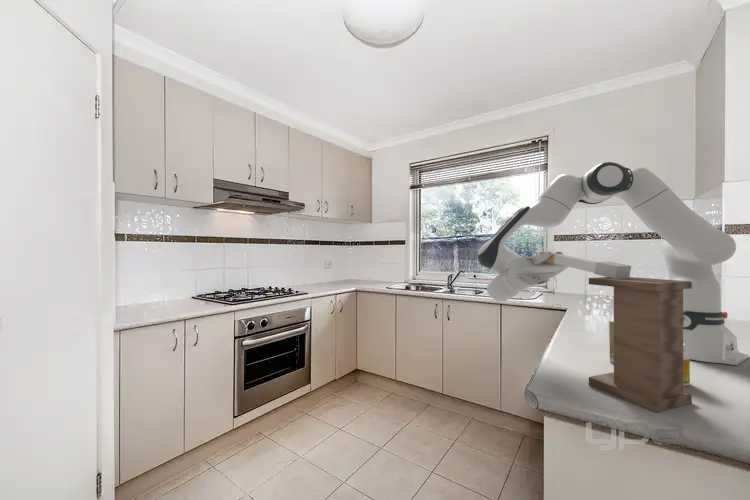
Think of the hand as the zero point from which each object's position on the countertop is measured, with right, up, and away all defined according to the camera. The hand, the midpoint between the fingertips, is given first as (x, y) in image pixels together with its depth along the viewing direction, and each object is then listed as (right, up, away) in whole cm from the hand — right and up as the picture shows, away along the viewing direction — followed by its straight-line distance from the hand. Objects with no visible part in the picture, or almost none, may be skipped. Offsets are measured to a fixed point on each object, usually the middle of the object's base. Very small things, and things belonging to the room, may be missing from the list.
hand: (555, 253), depth 93 cm
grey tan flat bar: (+2, -4, -6) cm, 8 cm away
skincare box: (+19, -32, 0) cm, 37 cm away
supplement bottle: (+22, -32, -13) cm, 41 cm away
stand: (+7, -32, -20) cm, 38 cm away
